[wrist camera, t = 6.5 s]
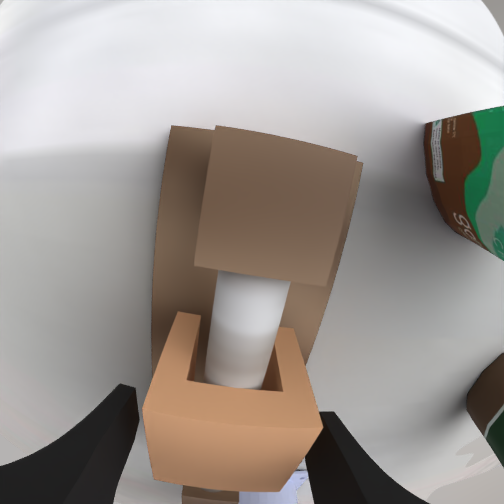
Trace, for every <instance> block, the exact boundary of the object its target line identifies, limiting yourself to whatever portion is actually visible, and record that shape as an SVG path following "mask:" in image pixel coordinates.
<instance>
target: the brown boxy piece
mask: <svg viewBox="0 0 504 504" xmlns="http://www.w3.org/2000/svg"><path fill="white" fill-rule="evenodd" d="M362 166H363V163H362V162H358V161H357V156H355V155H352V154H349V153H345V152H342V151H338V150H334V149H331V148H327V147H323V146H319V145H315V144H311V143H307V142H303V141H299V140H294V139H290V138H285V137H280V136H276V135H271V134H265V133H260V132H255V131H249V130H243V129H237V128H231V127H224V126H217V125H216V127H215V130H208V129H200V128H192V127H182V126H172V125H171V130H170V135H169V141H168V147H167V152H166V159H165V165H164V171H163V178H162V186H161V193H160V201H159V210H158V219H157V229H156V240H155V253H154V267H153V286H152V323H151V345H152V379H153V376H154V373H155V370H156V368H157V365H158V362H159V359H160V357H161V354H162V351H163V349H164V346H165V343H166V341H167V338H168V335H169V333H170V330H171V328H172V325H173V322H174V320H175V317H176V315H177V312H178V311H179V312H184V313H190V314H195V315H201V320H200V329H199V338H198V347H197V357H196V367H195V378H194V382H199V383H206V384H212V385H219V386H227V387H233V388H244V389H254V390H261V387H262V384H263V380H264V377H265V374H266V370H267V367H268V363H269V360H270V357H271V353H272V350H273V346H274V342H275V339H276V335H277V332H278V328H279V327H286V328H294V331H295V334H296V338H297V341H298V344H299V347H300V351H301V354H302V357H303V360H304V364H305V366H306V363H307V360H308V358H309V355H310V352H311V350H312V347H313V344H314V341H315V338H316V336H317V333H318V330H319V327H320V324H321V321H322V318H323V315H324V312H325V309H326V306H327V303H328V299H329V296H330V293H331V290H332V287H333V283H334V280H335V277H336V273H337V270H338V266H339V263H340V259H341V255H342V252H343V248H344V244H345V241H346V237H347V233H348V229H349V225H350V221H351V217H352V213H353V208H354V204H355V200H356V195H357V191H358V186H359V181H360V176H361V172H362ZM238 503H239V491H226V490H215V489H206V488H199V487H192V486H185V485H183V490H182V504H238Z"/></svg>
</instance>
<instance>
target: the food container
mask: <svg viewBox="0 0 504 504" xmlns="http://www.w3.org/2000/svg"><path fill="white" fill-rule="evenodd" d="M424 152H425V164H426V175H427V178H428V182H429V185H430V189H431V192H432V196H433V200H434V202H435V204H436V206H437V208H438V210H439V211H440V213H441V215H442V217H443V219H444V221H445V222H446V223H447V224H448V225H449V226H450V227H451V228H452V229H453V230H454V231H455V232H456V233H458V234H460V235H461V236H463V237H465V238H467V239H468V240H470V241H472V242H474V243H475V244H477V245H479V246H480V247H482V248H484V249H485V250H487V251H489V252H490V253H492V254H494V255H495V256H497V257H498V258H500V259H501V260H503V261H504V106H500V107H495V108H490V109H485V110H480V111H475V112H470V113H466V114H461V115H457V116H453V117H449V118H445V119H441V120H437V121H433V122H429V123H426V124H425V136H424Z"/></svg>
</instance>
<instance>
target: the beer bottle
mask: <svg viewBox="0 0 504 504" xmlns="http://www.w3.org/2000/svg"><path fill="white" fill-rule="evenodd" d="M467 411H468V413H469V415H470V416H471V418H472V420H473V421H474V423H475V424H476V426H477V427H478V429H479V430H480V432H481V433H482V435H483V436H484V437H485V439H486V440H487V442H488V443H489V445H490V446H491V448H492V450H493V451H494V453H495V454H496V456H497V458H498V459H499V461H500V462H501V464H502V466H503V467H504V353H502V354H501V355H500V356H499V357H498V358H497V359H496V360H495V361H494V362H493V363H492V364H491V365H489V366H488V367H487V368H486V369H485V370H484V371H483V372H482V374H481V375H480V377H479V378H478V380H477V381H476V383H475V384H474V385H473V387H472V388H471V390H470V391H469V392H468V395H467Z"/></svg>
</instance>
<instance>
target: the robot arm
mask: <svg viewBox="0 0 504 504" xmlns="http://www.w3.org/2000/svg"><path fill="white" fill-rule="evenodd" d="M319 414H320V418H321V421H322V425H323V429H322V430H321V432H320V434H319V435H318V437H317V439H316V440H315V442H314V443H313V445H312V446H311V448H310V450H309V451H308V453H307V454H306V456H305V462H306V467H307V471H295V472H294V473H293V474H292V476H291V477H290V479H289V480H288V481H287V483H286V484H285V485H284V487H283V488H282V489H281V491H280V492H242V491H239V503H238V504H298V500H297V493H296V491H297V489H298V488H299V487H300V486H301V485H302V484H303V482H304V481H305V480H306V479H307V478H308V476H309V481H310V486H311V490H312V495H313V500H314V504H429V503H427V502H425V501H424V500H422V499H420V498H418V497H417V496H415V495H414V494H412V493H411V492H409V491H408V490H406V489H405V488H403V487H402V486H401V485H399V484H398V483H397V482H396V481H394V480H393V479H392V478H391V477H390V476H388V475H387V474H386V473H385V472H384V471H383V470H382V469H381V468H380V467H379V466H378V465H377V464H376V463H375V462H374V461H373V460H372V459H371V458H370V457H369V455H368V454H367V453H366V452H365V451H364V450H363V448H362V447H361V446H360V445H359V444H358V442H357V441H356V440H355V439H354V437H353V436H352V435H351V433H350V432H349V431H348V429H347V428H346V427H345V425H344V424H343V423H342V421H341V420H340V419H339V417H338V416H337V415H336V413H335V412H319ZM139 420H140V419H139V412H138V405H137V397H136V388H134V387H131V386H127V385H124V384H119V385H118V386H117V387H116V388H115V389H114V390H113V391H112V392H111V393H110V394H109V395H108V396H107V397H106V398H105V399H104V400H103V401H102V402H101V403H100V404H99V405H98V406H97V407H96V408H95V409H94V410H93V411H92V412H91V413H90V414H89V415H87V416H86V417H85V418H84V419H83V420H82V421H81V422H79V423H78V424H77V425H76V426H74V427H73V428H72V429H71V430H69V431H68V432H67V433H66V434H64V435H63V436H61V437H60V438H59V439H57V440H56V441H54V442H52V443H51V444H49V445H48V446H46V447H44V448H42V449H40V450H39V451H37V452H35V453H33V454H31V455H29V456H27V457H24V458H22V459H19V460H17V461H15V462H12V463H9V464H6V465H3V466H0V504H113V501H114V497H115V492H116V489H117V485H118V482H119V479H120V477H121V474H122V471H123V469H124V466H125V463H126V461H127V458H128V456H129V453H130V450H131V448H132V445H133V443H134V440H135V436H136V432H137V428H138V424H139Z"/></svg>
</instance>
